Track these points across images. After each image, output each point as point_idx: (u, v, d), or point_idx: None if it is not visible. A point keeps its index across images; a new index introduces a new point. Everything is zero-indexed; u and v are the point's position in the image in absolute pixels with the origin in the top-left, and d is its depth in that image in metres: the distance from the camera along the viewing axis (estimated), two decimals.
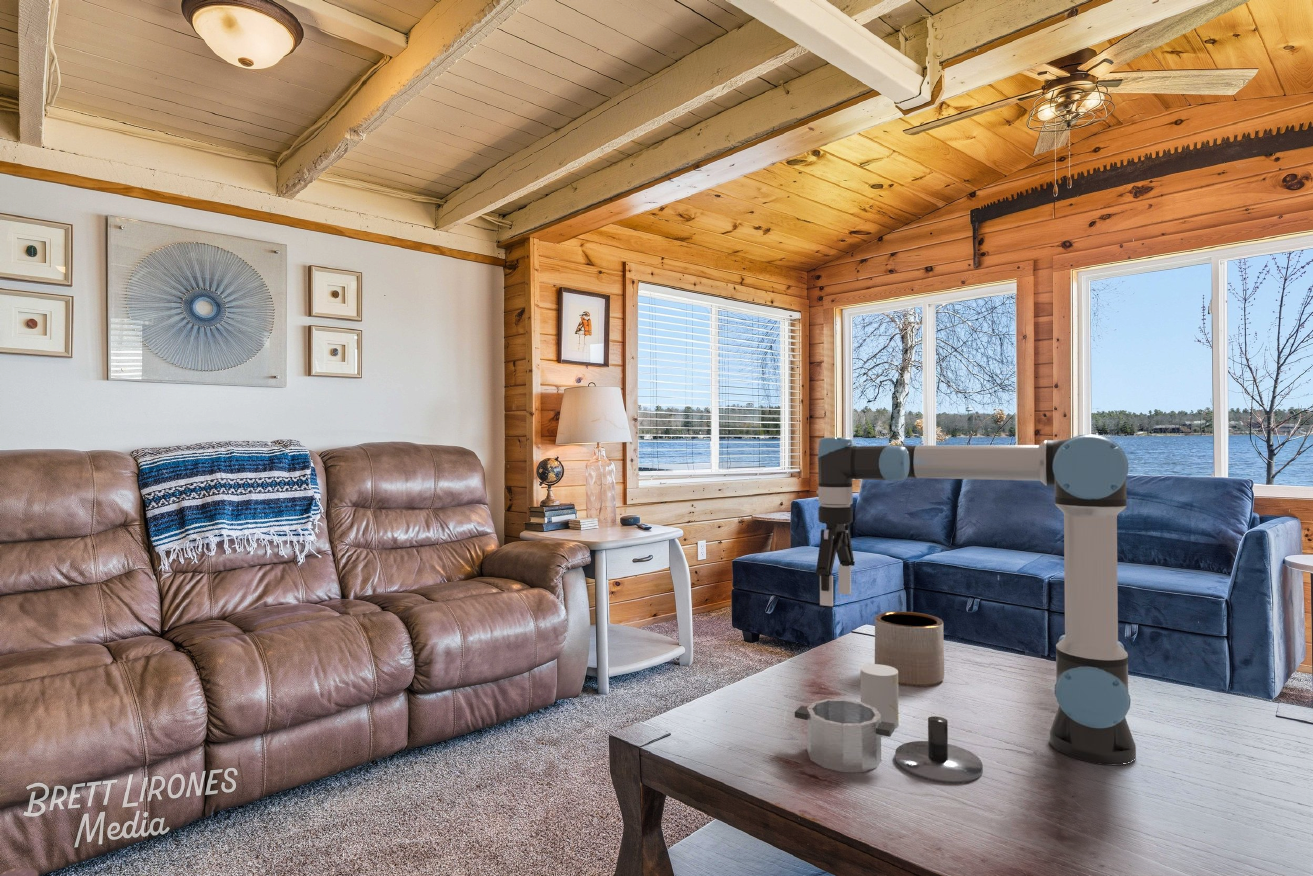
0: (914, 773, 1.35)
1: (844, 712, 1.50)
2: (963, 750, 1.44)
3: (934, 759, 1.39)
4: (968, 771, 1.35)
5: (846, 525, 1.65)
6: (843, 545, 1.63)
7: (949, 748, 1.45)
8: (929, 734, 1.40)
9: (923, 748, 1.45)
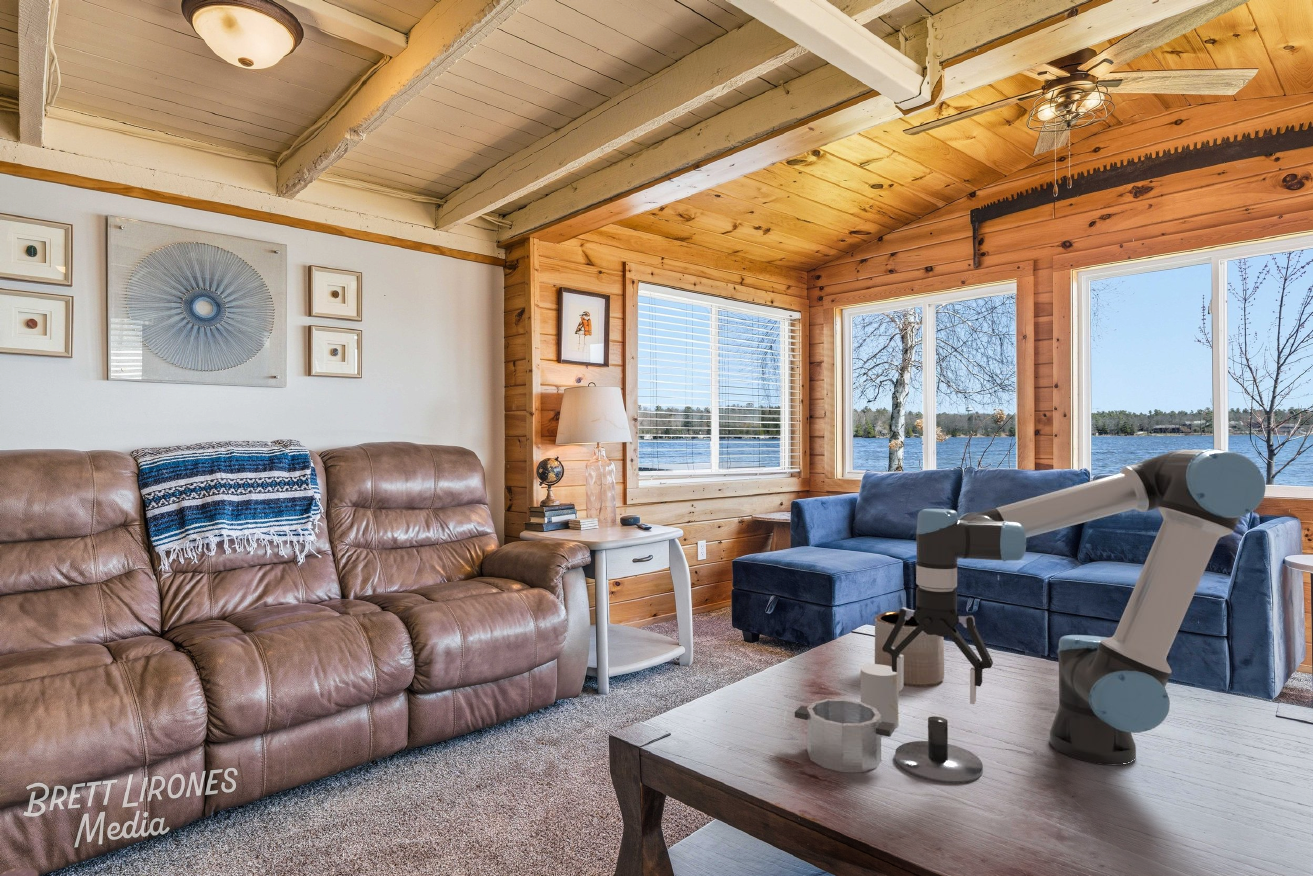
0: (914, 773, 1.35)
1: (844, 712, 1.50)
2: (963, 750, 1.44)
3: (934, 759, 1.39)
4: (968, 771, 1.35)
5: (967, 618, 1.37)
6: None
7: (949, 748, 1.45)
8: (929, 734, 1.40)
9: (923, 748, 1.45)
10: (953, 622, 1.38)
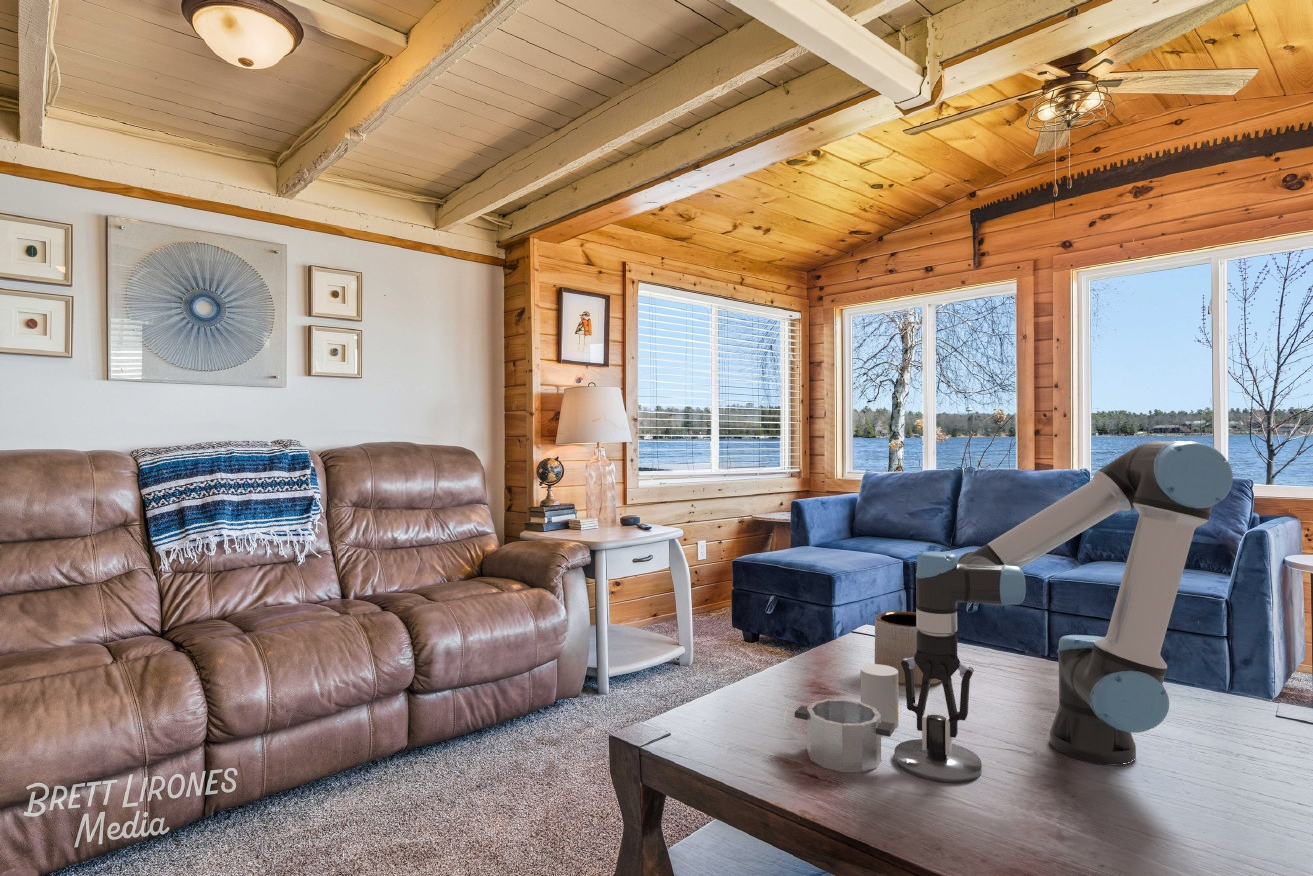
0: (913, 771, 1.36)
1: (844, 712, 1.50)
2: (962, 748, 1.44)
3: (933, 757, 1.39)
4: (968, 769, 1.35)
5: (967, 670, 1.37)
6: None
7: None
8: (928, 732, 1.40)
9: None
10: (952, 667, 1.38)
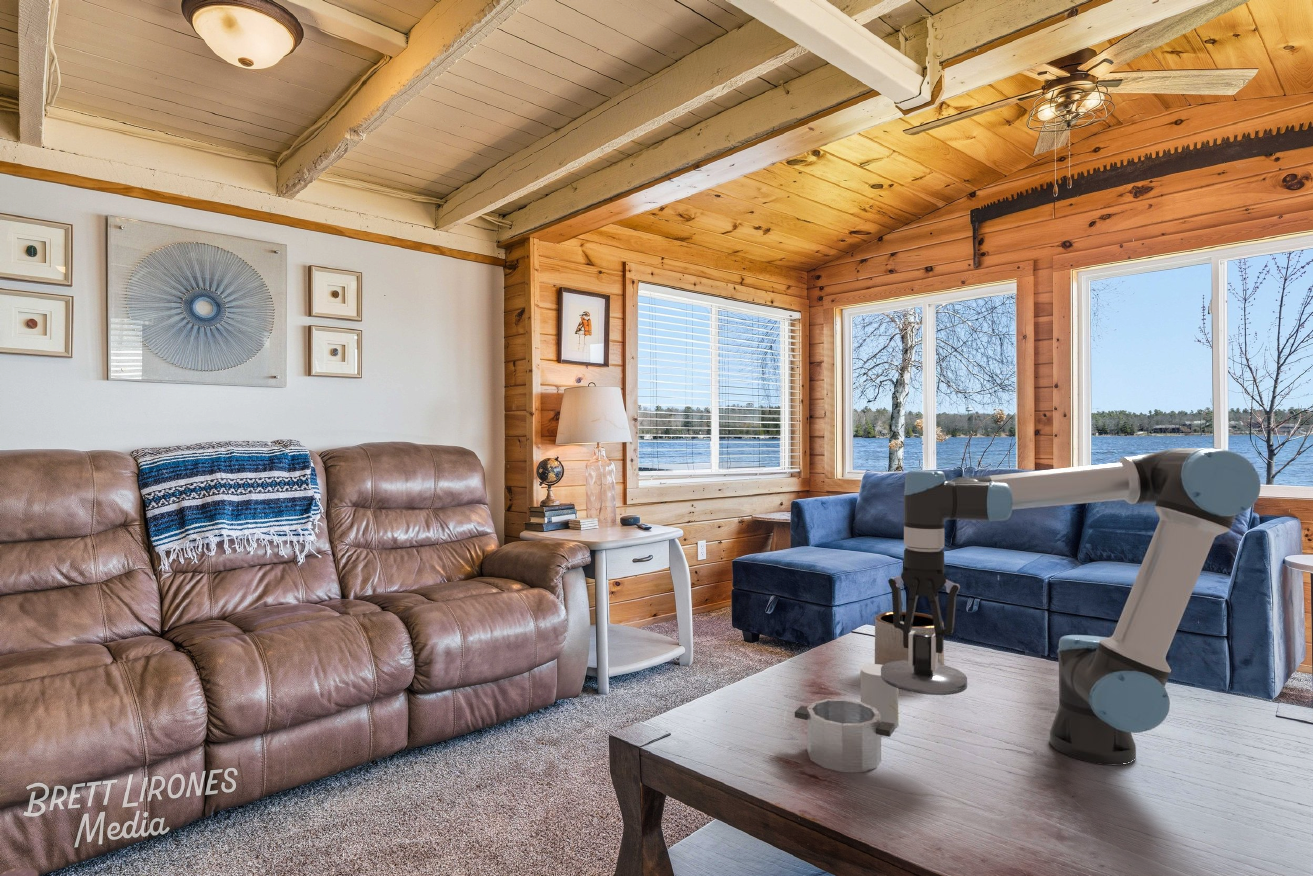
0: (899, 685, 1.36)
1: (844, 712, 1.50)
2: (948, 667, 1.44)
3: (919, 673, 1.40)
4: (953, 683, 1.35)
5: (954, 585, 1.37)
6: None
7: None
8: (914, 649, 1.41)
9: None
10: (939, 582, 1.38)
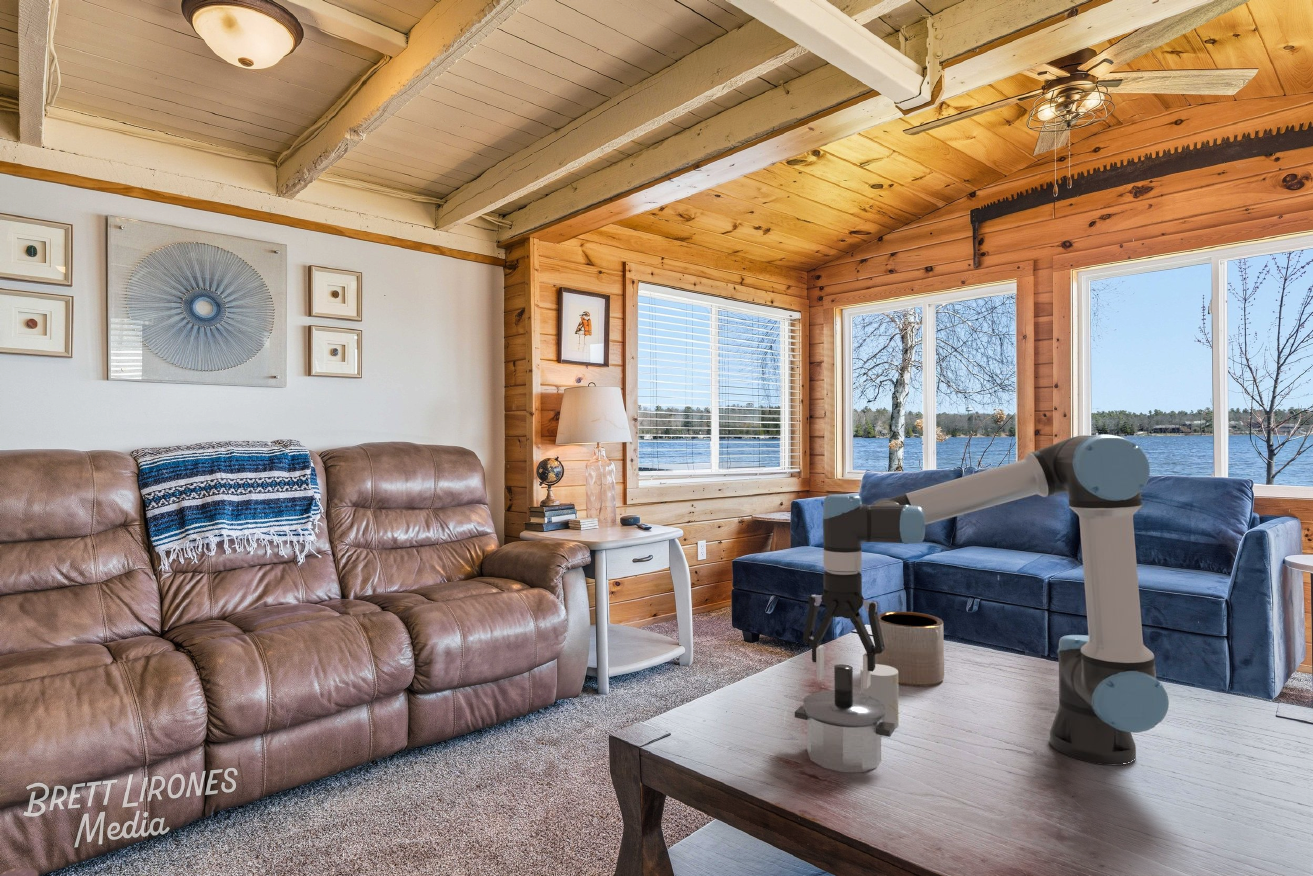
0: (817, 717, 1.39)
1: None
2: (870, 698, 1.47)
3: (839, 705, 1.43)
4: (869, 715, 1.38)
5: (870, 603, 1.40)
6: None
7: (857, 696, 1.48)
8: (835, 681, 1.44)
9: (832, 696, 1.49)
10: (857, 604, 1.42)
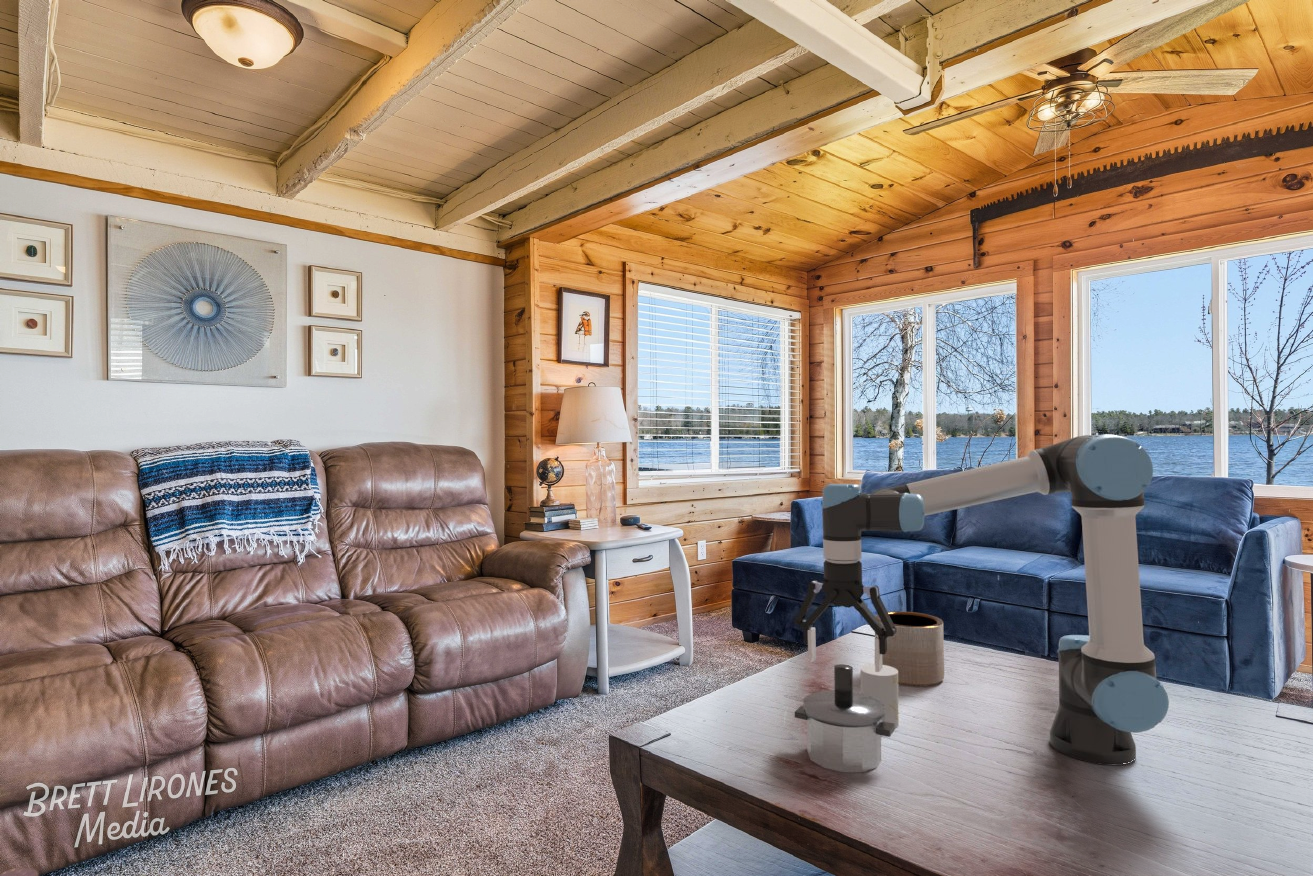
0: (817, 717, 1.39)
1: None
2: (870, 698, 1.47)
3: (839, 705, 1.43)
4: (869, 715, 1.38)
5: (870, 588, 1.40)
6: None
7: (857, 696, 1.48)
8: (835, 681, 1.44)
9: (832, 696, 1.49)
10: (858, 593, 1.41)
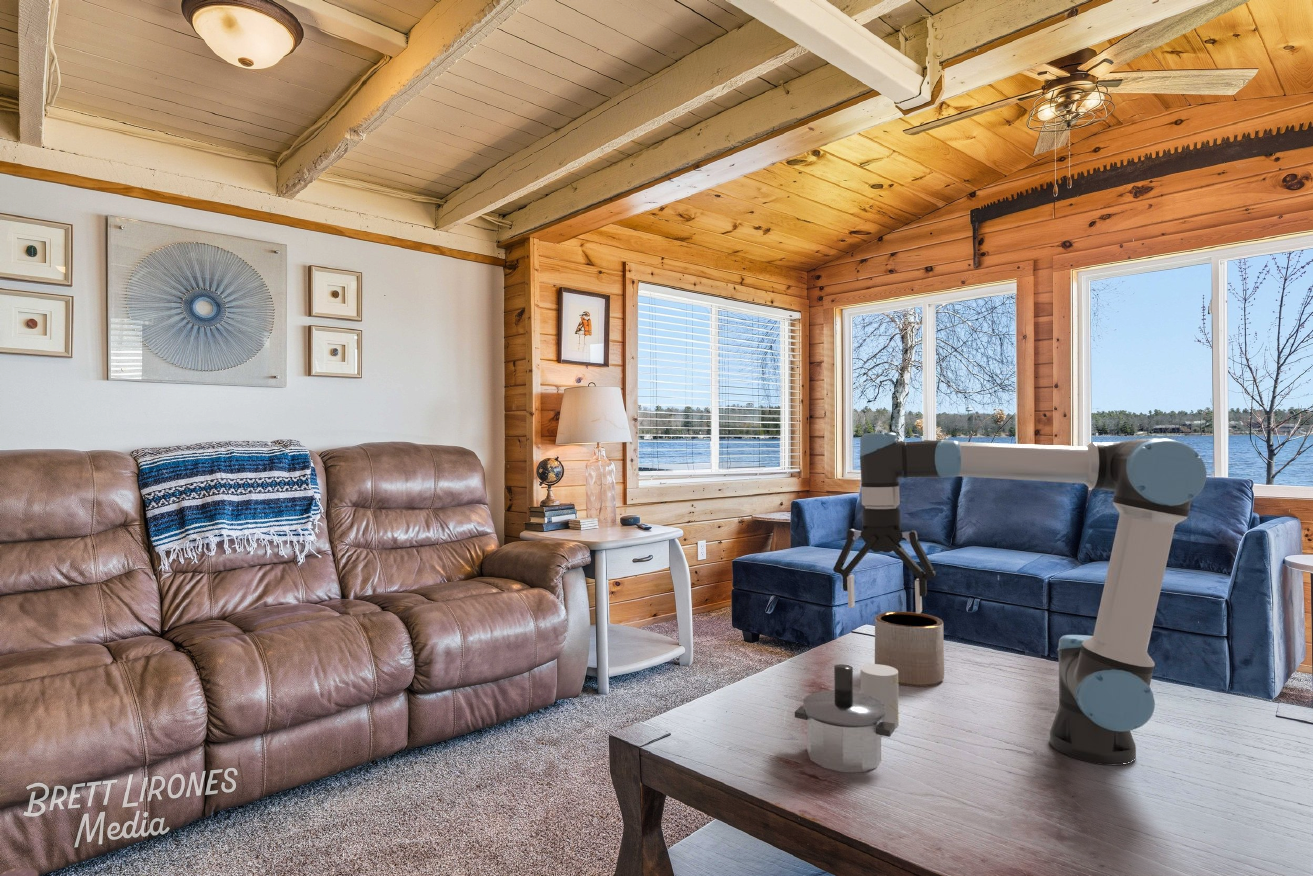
0: (817, 717, 1.39)
1: None
2: (870, 698, 1.47)
3: (839, 705, 1.43)
4: (869, 715, 1.38)
5: (909, 532, 1.44)
6: None
7: (857, 696, 1.48)
8: (835, 681, 1.44)
9: (832, 696, 1.49)
10: (897, 537, 1.45)
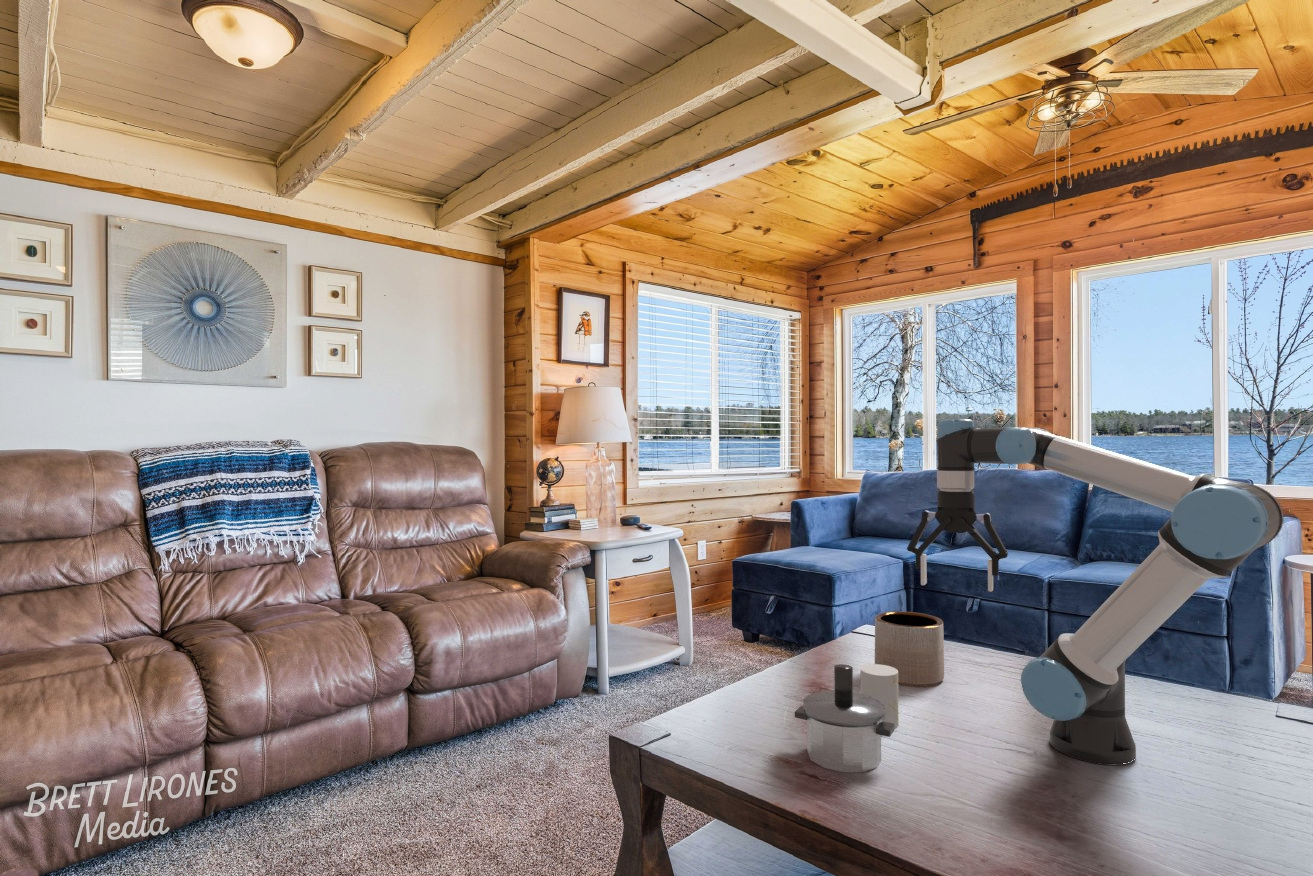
0: (817, 717, 1.39)
1: None
2: (870, 698, 1.47)
3: (839, 705, 1.43)
4: (869, 715, 1.38)
5: (984, 514, 1.52)
6: (970, 534, 1.53)
7: (857, 696, 1.48)
8: (835, 681, 1.44)
9: (832, 696, 1.49)
10: (971, 519, 1.53)
